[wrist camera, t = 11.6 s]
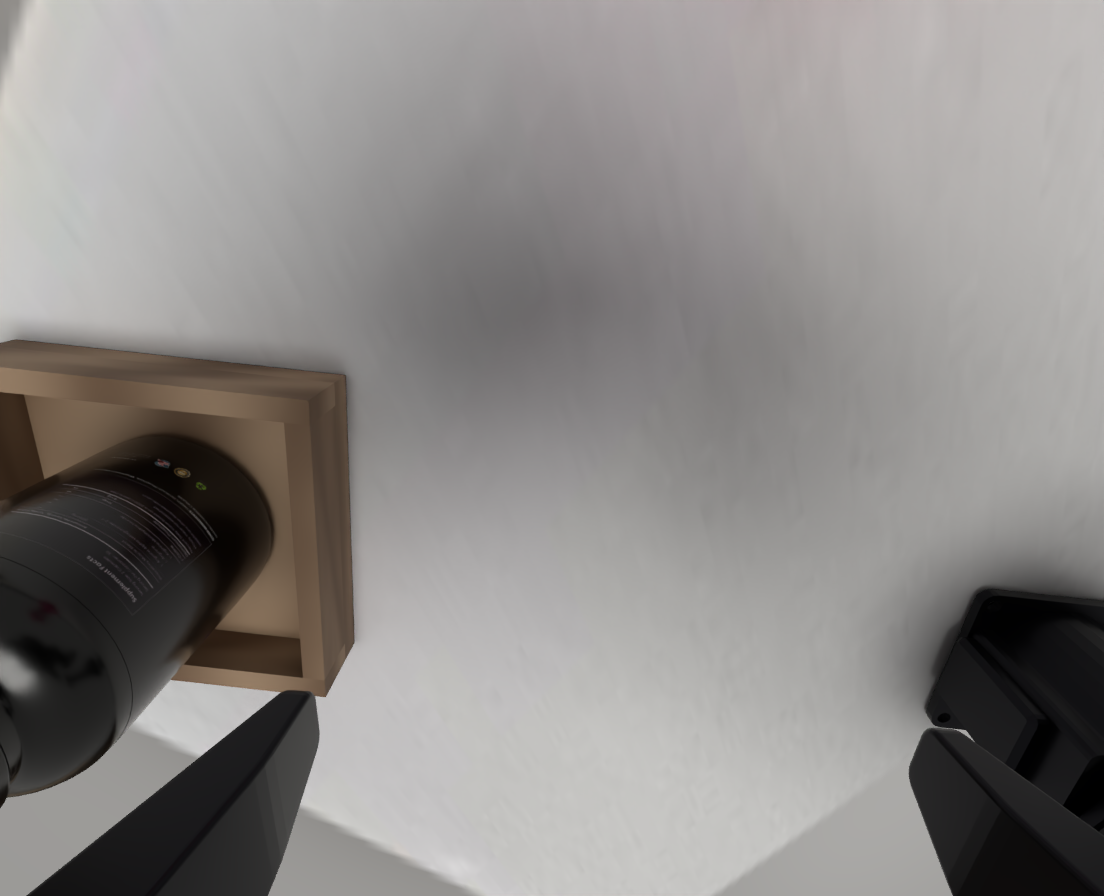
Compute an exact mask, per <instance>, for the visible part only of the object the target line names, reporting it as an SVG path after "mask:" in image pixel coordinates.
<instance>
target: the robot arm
mask: <svg viewBox="0 0 1104 896" xmlns="http://www.w3.org/2000/svg"><path fill="white" fill-rule="evenodd" d="M993 601H994V602H993ZM991 602H993V604H991V605H989V604H990V603H991ZM926 714H927V716H928V718H929V719H930V720H931V722H932V723H933V724H934V725H935V726H938V727H944V728H953V729H962V730H966V731H967V732H968V733H969V735H970V736H971V737H972V738H973V740H974V741H975V742H973V741H972V740H971V739H970V738H968V737H967V736H965V735H964V734H962V733H961V732H959V731H957V730H953V729H940V728H929V729H927V730H926V731H924V732H923V734H922V736H921V739H920V741H919V744H918V746H917V748H916V751H915V753H914V756H913V758H912V761H911V763H910V766H909V779H910V783H911V787H912V789H913V792H914V795H915V798H916V800H917V803H918V806H919V808H920V811H921V813H922V816H923V819H924V822H925V824H926V827H927V830H928V832H929V835H930V838H931V840H932V843H933V846H934V848H935V850H936V854H937V856H938V859H939V862H940V864H941V867H942V869H943V872H944V875H945V878H946V880H947V883H948V885H949V888H950V890H951V893H952V895H953V896H1104V601H1097V600H1088V599H1079V598H1070V597H1061V596H1051V595H1042V594H1033V593H1024V592H1015V591H1006V590H997V589H987V590H984V591H982V592H980V593H979V594H978V595H977V596H976V598H975V599H974V601H973V604H972V606H971V608H970V611H969V613H968V615H967V617H966V620H965V622H964V624H963V627H962V629H961V631H960V634H959V636H958V638H957V640H956V643H955V645H954V647H953V650H952V652H951V654H950V656H949V659H948V661H947V663H946V666H945V668H944V670H943V672H942V675H941V677H940V679H939V682H938V684H937V686H936V688H935V691H934V693H933V695H932V698H931V700H930V702H929V704H928V707H927V709H926ZM319 734H320V733H319V724H318V715H317V707H316V699H315V696H314V694H313V693H312V692H310V691H300V690H286V691H283V692H281V693H280V694H278V695H277V696H276V697H275V698H273V699H272V700H271V701H270V702H268V703H267V704H266V705H265V706H263V707H262V708H261V709H260V710H258V711H257V712H256V713H255V714H253V715H252V716H251V717H250V718H248V719H247V720H246V721H245V722H243V723H242V724H241V725H240V726H238V727H237V728H236V729H235V730H233V731H232V732H231V733H230V734H228V735H227V736H226V737H225V738H223V739H222V740H221V741H220V742H218V743H217V744H216V745H215V746H213V747H212V748H211V749H210V750H208V751H207V752H206V753H205V754H203V755H202V756H201V757H200V758H198V759H197V760H196V761H195V762H193V763H192V764H191V765H189V766H188V767H187V768H186V769H185V770H184V771H182V772H181V773H180V774H178V775H177V776H176V777H175V778H173V779H172V780H171V781H170V782H168V783H167V784H166V785H165V786H163V787H162V788H161V789H159V790H158V791H157V792H156V793H155V794H153V795H152V796H151V797H149V798H148V799H147V800H146V801H144V802H143V803H142V804H141V805H139V806H138V807H137V808H136V809H135V810H133V811H132V812H131V813H129V814H128V815H127V816H126V817H124V818H123V819H122V820H121V821H120V822H118V823H117V824H116V825H115V826H113V827H112V828H111V829H109V830H108V831H107V832H106V833H104V834H103V835H102V836H101V837H99V838H98V839H97V840H96V841H94V843H92V844H91V845H89V846H88V847H87V848H86V849H84V850H83V851H82V852H81V853H79V854H78V855H77V856H76V857H74V858H73V859H72V860H71V861H69V862H68V863H67V864H66V865H65V866H63V867H62V868H61V869H59V870H58V871H57V872H56V873H54V874H53V875H52V876H51V877H49V878H48V879H47V880H45V881H44V882H43V883H42V884H40V885H39V886H38V887H37V888H36V889H34V890H33V891H32V892H30V893H29V894H28V895H27V896H268V894H269V891H270V889H271V886H272V884H273V882H274V879H275V877H276V874H277V872H278V869H279V867H280V864H281V862H282V859H283V856H284V853H285V850H286V847H287V844H288V841H289V837H290V834H291V831H292V828H293V825H294V822H295V818H296V815H297V812H298V809H299V806H300V803H301V799H302V796H303V793H304V790H305V787H306V784H307V780H308V777H309V774H310V771H311V768H312V764H313V761H314V758H315V755H316V752H317V748H318V744H319Z"/></svg>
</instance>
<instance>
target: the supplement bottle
mask: <svg viewBox="0 0 1104 896" xmlns="http://www.w3.org/2000/svg"><path fill="white" fill-rule="evenodd" d="M271 537H272V535H271V525H270V520H269V516H268V512H267V509H266V507H265V505H264V502H263V500H262V498H261V496H260V495H259V493H258V491H257V490H256V488H255V487H254V485H253V484H252V483H251V482H250V480H249V479H248V478H247V477H246V476H245V475H244V474H243V472H241V471H240V470H239V469H238V468H237V467H236V466H235V465H234V464H232V463H231V462H230V461H228V460H227V459H226V458H224V457H223V456H221V455H220V454H218V453H216V452H214V451H212V450H211V449H208V448H206V447H204V446H202V445H199V444H196V443H194V442H190V441H187V440H183V439H178V438H173V437H164V436H151V437H140V438H135V439H131V440H128V441H124V442H121V443H119V444H116V445H114V446H112V447H110V448H107V449H105V450H103V451H101V452H99V453H97V454H95V455H93V456H91V457H89V458H87V459H85V460H83V461H81V462H79V463H77V464H75V465H73V466H71V467H69V468H67V469H65V470H63V471H60V472H58V473H56V474H54V475H52V476H50V477H48V478H46V479H44V480H42V481H40V482H38V483H36V484H34V485H32V486H30V487H28V488H26V489H24V490H22V491H20V492H18V493H16V494H14V495H12V496H10V497H8V498H6V499H4V500H2V501H0V808H1V807H2V805H3V804H4V802H5V800H6V798H8V797H16V796H22V795H26V794H31V793H35V792H38V791H41V790H44V789H48V788H51V787H53V786H56V785H58V784H60V783H62V782H64V781H67V780H69V779H71V778H73V777H74V776H76V775H78V774H80V773H81V772H83V771H85V770H86V769H87V768H89V767H90V766H92V765H93V764H94V763H95V762H97V761H98V760H99V759H100V758H101V757H102V756H103V755H104V754H105V753H106V752H107V751H108V750H109V749H110V748H111V747H112V745H113V744H114V743H115V742H116V741H117V740H118V739H119V738H120V737H121V736H122V735H123V734H124V733H125V731H126V730H127V729H128V728H129V727H130V726H131V724H132V723H133V722H134V721H135V720H136V719H137V718H138V716H139V715H140V714H141V713H142V712H143V711H144V710H145V708H146V707H147V706H148V705H149V704H150V703H151V702H152V700H153V699H154V698H155V697H156V696H157V695H158V693H159V692H160V691H161V690H162V689H163V688H164V687H165V685H166V684H167V683H168V682H169V681H170V680H171V679H172V677H173V676H174V675H175V674H176V673H177V672H178V670H179V669H180V668H181V667H182V666H183V665H184V664H185V662H186V661H187V660H188V659H189V658H190V657H191V655H192V654H193V653H194V652H195V651H196V650H197V649H198V647H199V646H200V645H201V644H202V643H203V642H204V641H205V639H206V638H207V637H208V636H209V635H210V634H211V632H212V631H213V630H214V629H215V628H216V627H217V626H218V624H219V623H220V622H221V621H222V620H223V619H224V618H225V616H226V615H227V614H228V613H229V612H230V611H231V609H232V608H233V607H234V606H235V605H236V604H237V603H238V601H239V600H240V599H241V598H242V597H243V596H244V594H245V593H246V592H247V591H248V589H249V588H250V587H251V586H252V585H253V583H254V582H255V581H256V580H257V578H258V577H259V575H260V574H261V572H262V571H263V569H264V567H265V565H266V562H267V560H268V557H269V553H270V549H271Z"/></svg>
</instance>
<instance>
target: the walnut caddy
mask: <svg viewBox="0 0 1104 896" xmlns="http://www.w3.org/2000/svg"><path fill="white" fill-rule="evenodd" d="M151 436H164V437H173V438H178V439H183V440H187V441H190V442H194V443H196V444H199V445H202V446H204V447H206V448H208V449H211V450H212V451H214V452H216V453H218V454H220V455H221V456H223V457H224V458H226V459H227V460H228V461H230V462H231V463H232V464H234V465H235V466H236V467H237V468H238V469H239V470H240V471H241V472H243V474H244V475H245V476H246V477H247V478H248V479H249V480H250V482H251V483H252V484H253V485H254V487H255V488H256V490H257V491H258V493H259V495H260V496H261V498H262V500H263V502H264V505H265V507H266V509H267V512H268V516H269V520H270V525H271V535H272V537H271V549H270V553H269V557H268V560H267V562H266V565H265V567H264V569H263V571H262V572H261V574H260V575H259V577H258V578H257V580H256V581H255V582H254V583H253V585H252V586H251V587H250V588H249V589H248V591H247V592H246V593H245V594H244V596H243V597H242V598H241V599H240V600H239V601H238V603H237V604H236V605H235V606H234V607H233V608H232V609H231V611H230V612H229V613H228V614H227V615H226V616H225V618H224V619H223V620H222V621H221V622H220V623H219V624H218V626H217V627H216V628H215V629H214V630H213V631H212V632H211V634H210V635H209V636H208V637H207V638H206V639H205V641H204V642H203V643H202V644H201V645H200V646H199V647H198V649H197V650H196V651H195V652H194V653H193V654H192V655H191V657H190V658H189V659H188V660H187V661H186V662H185V664H184V665H183V666H182V667H181V668H180V669H179V670H178V672H177V673H176V674H175V675H174V676H173V677H172V679H171V680H177V681H186V682H195V683H204V684H213V685H222V686H231V687H240V688H249V689H258V690H267V691H275V692H283V691H286V690H300V691H310V692H312V693H313V694H314V696H320V697H326V695H327V693H328V692H329V690H330V688H331V686H332V684H333V682H334V680H335V678H336V676H337V675H338V673H339V671H340V669H341V667H342V665H343V663H344V661H345V659H346V658H347V656H348V654H349V652H350V650H351V648H352V646H353V644H354V620H353V590H352V559H351V529H350V498H349V468H348V437H347V407H346V376H345V375H339V374H329V373H320V372H311V371H302V370H292V369H283V368H274V367H265V366H255V365H246V364H237V363H227V362H218V361H209V360H200V359H190V358H181V357H172V356H163V355H153V354H144V353H135V352H125V351H116V350H107V349H98V348H88V347H79V346H70V345H61V344H51V343H42V342H33V341H23V340H12V341H7V342H3V343H0V501H2V500H4V499H6V498H8V497H10V496H12V495H14V494H16V493H18V492H20V491H22V490H24V489H26V488H28V487H30V486H32V485H34V484H36V483H38V482H40V481H42V480H44V479H46V478H48V477H50V476H52V475H54V474H56V473H58V472H60V471H63V470H65V469H67V468H69V467H71V466H73V465H75V464H77V463H79V462H81V461H83V460H85V459H87V458H89V457H91V456H93V455H95V454H97V453H99V452H101V451H103V450H105V449H107V448H110V447H112V446H114V445H116V444H119V443H121V442H124V441H128V440H131V439H135V438H140V437H151Z"/></svg>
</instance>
